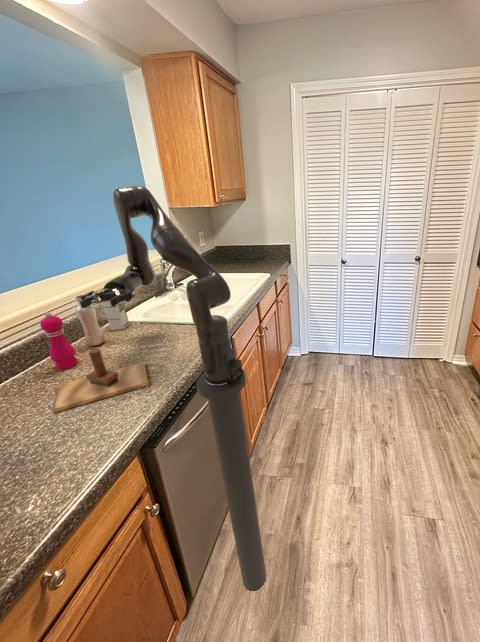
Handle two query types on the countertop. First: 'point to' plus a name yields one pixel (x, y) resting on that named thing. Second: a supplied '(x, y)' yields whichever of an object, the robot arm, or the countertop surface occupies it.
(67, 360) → the pepper mill
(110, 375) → the scrub brush
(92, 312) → the plastic bottle
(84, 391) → the cutting board
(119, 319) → the syrup box
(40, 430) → the countertop surface
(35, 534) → the countertop surface
